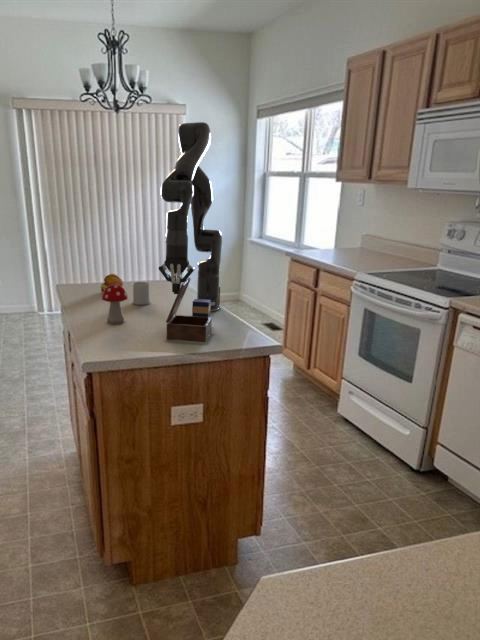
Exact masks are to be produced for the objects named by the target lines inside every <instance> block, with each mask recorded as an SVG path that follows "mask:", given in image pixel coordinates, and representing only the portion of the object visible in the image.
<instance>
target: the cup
mask: <svg viewBox="0 0 480 640" xmlns="http://www.w3.org/2000/svg"><path fill="white" fill-rule="evenodd" d="M132 301H133V304H134V305H136V306H146V305H149V304H150V283H149V282H147V281H135V282H133V283H132Z"/></svg>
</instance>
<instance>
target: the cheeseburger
mask: <svg viewBox="0 0 480 640" xmlns="http://www.w3.org/2000/svg"><path fill="white" fill-rule="evenodd" d="M112 284H117V285H120V286H122V287H124V281H123V279H121V278H120V277H119V276H118V275H117V274H115V273H109V274H107V275H106V276H105V277H104V278H103V283H101V284H100V286H99V287H100V291H101V293H103V292H104V290H105V289H106V287H108V286H109V285H112Z"/></svg>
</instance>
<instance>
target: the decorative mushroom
mask: <svg viewBox="0 0 480 640" xmlns="http://www.w3.org/2000/svg"><path fill="white" fill-rule="evenodd" d="M128 298H129V297H128V293H127V292H126V290H125V288H124V286H120V285H117V284H112V285H109V286H108V287H106V289H105V290H104V292H102V295H101V300H102V301H104V302H107V303H108V302H109V308H108V315H107V318H106V322H107V324H109V325H120V324H121V325H122V324H123V323H124V322H125V316H124V315H123V311H122V307H121V302H124V301H126V300H128Z"/></svg>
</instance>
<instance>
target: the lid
mask: <svg viewBox="0 0 480 640" xmlns="http://www.w3.org/2000/svg"><path fill="white" fill-rule="evenodd" d="M191 281H192V277H190V276H189V277H188V278H187V280H186V281H185V282H182V283H181V287H180V290H179V292H178V294H176V297H175V299H174V302H173V303H172V306H171V309H170V311H169V314H168V316H167V318H166V320H165V323H166V324H167V323H168V322H169V321H170V320H171V319H172V318H173V317H174V315H177V312H178V310H179V308H180V305H181V303H182V301H183V298H184V296H185V294H186V291H187V289H188V286H189V285H190V283H191Z"/></svg>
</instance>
